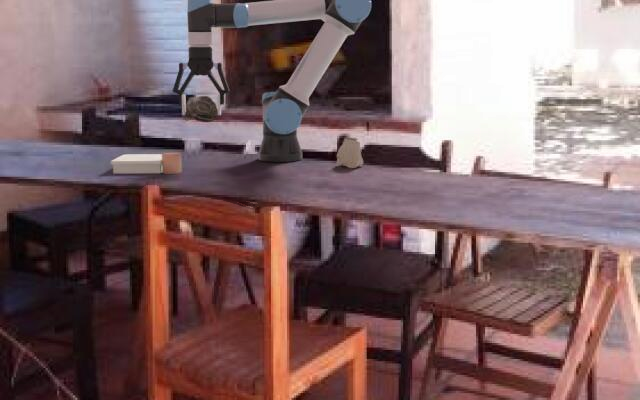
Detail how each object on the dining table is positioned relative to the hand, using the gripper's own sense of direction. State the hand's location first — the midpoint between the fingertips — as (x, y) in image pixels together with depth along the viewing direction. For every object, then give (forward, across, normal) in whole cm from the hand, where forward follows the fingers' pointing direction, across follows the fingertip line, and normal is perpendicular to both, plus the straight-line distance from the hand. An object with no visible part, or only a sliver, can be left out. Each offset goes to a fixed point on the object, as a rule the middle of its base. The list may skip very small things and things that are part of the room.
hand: (201, 114), depth 300 cm
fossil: (+2, 0, 0) cm, 2 cm away
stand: (+17, +19, +5) cm, 26 cm away
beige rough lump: (+17, -48, 0) cm, 51 cm away
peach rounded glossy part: (+17, +8, +11) cm, 22 cm away
